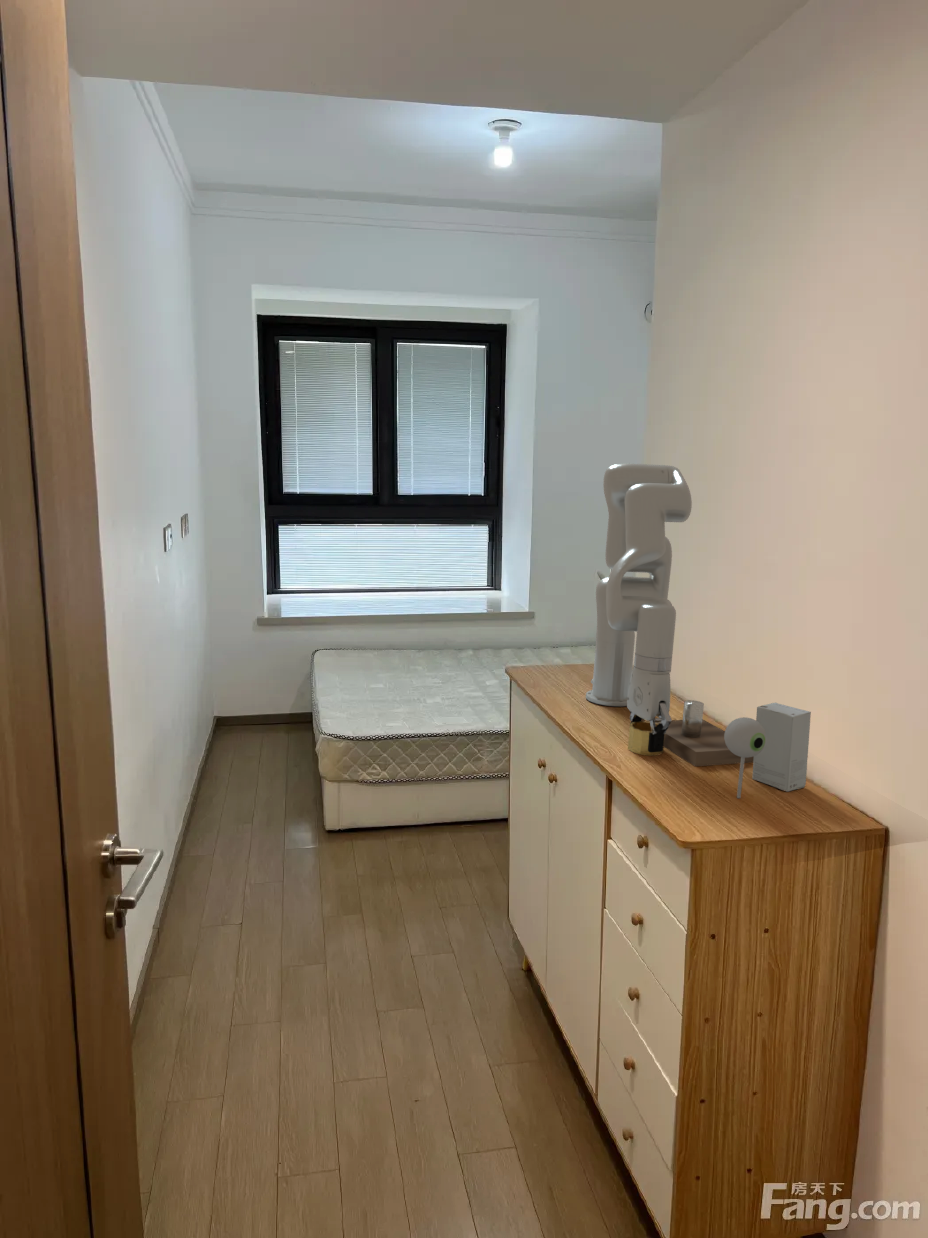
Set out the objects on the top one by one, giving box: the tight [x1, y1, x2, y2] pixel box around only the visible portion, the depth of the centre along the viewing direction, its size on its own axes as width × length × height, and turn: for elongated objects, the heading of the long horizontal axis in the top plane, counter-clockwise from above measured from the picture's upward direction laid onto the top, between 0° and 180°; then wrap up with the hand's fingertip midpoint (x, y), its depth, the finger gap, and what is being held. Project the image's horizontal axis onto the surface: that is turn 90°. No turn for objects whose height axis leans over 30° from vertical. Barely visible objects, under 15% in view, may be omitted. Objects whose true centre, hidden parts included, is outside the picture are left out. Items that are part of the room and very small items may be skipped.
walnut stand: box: [655, 718, 754, 767], centre depth 179 cm, size 20×14×3 cm
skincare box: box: [751, 702, 812, 792], centre depth 159 cm, size 8×6×15 cm
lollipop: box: [724, 717, 766, 799], centre depth 151 cm, size 7×7×15 cm
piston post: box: [681, 699, 705, 738], centre depth 177 cm, size 4×4×7 cm
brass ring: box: [627, 720, 665, 757], centre depth 176 cm, size 7×7×5 cm
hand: (645, 744), depth 176 cm, fingers closed on brass ring, 7 cm apart
